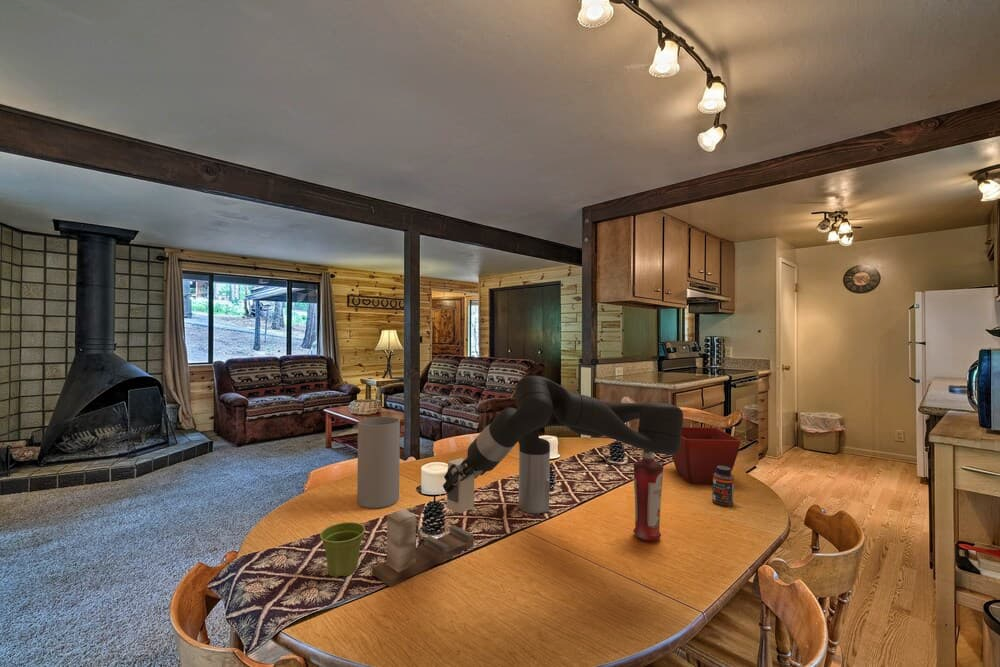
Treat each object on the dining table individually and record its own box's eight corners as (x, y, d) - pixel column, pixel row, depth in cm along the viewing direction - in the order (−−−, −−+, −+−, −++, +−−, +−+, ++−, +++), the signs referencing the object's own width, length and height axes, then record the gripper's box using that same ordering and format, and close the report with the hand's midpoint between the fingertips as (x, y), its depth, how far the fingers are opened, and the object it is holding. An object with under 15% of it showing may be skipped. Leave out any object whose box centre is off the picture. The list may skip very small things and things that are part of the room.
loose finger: (461, 502, 108) (461, 458, 108) (473, 507, 105) (474, 461, 105) (445, 508, 104) (445, 462, 104) (457, 514, 101) (458, 466, 101)
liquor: (640, 528, 119) (642, 426, 119) (666, 538, 114) (668, 431, 114) (627, 537, 114) (629, 430, 114) (653, 547, 109) (655, 435, 109)
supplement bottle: (712, 505, 136) (713, 469, 136) (711, 498, 142) (712, 463, 142) (734, 508, 134) (735, 471, 134) (732, 501, 140) (733, 466, 139)
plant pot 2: (740, 488, 151) (742, 439, 151) (685, 487, 151) (686, 439, 151) (714, 470, 170) (715, 427, 170) (665, 469, 170) (665, 426, 170)
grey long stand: (454, 536, 114) (455, 488, 113) (473, 545, 109) (474, 495, 109) (372, 574, 96) (372, 517, 96) (390, 587, 91) (391, 527, 91)
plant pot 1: (338, 587, 91) (339, 546, 91) (310, 573, 96) (311, 534, 96) (373, 567, 99) (374, 528, 99) (346, 555, 104) (346, 518, 104)
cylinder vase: (407, 501, 136) (407, 421, 136) (371, 513, 127) (371, 427, 127) (384, 490, 145) (385, 415, 144) (349, 501, 135) (350, 420, 135)
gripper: (477, 467, 90) (438, 509, 99) (521, 453, 101) (483, 491, 109) (459, 437, 94) (424, 480, 102) (504, 426, 105) (468, 466, 113)
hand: (454, 485), depth 106 cm, fingers closed on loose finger, 5 cm apart
